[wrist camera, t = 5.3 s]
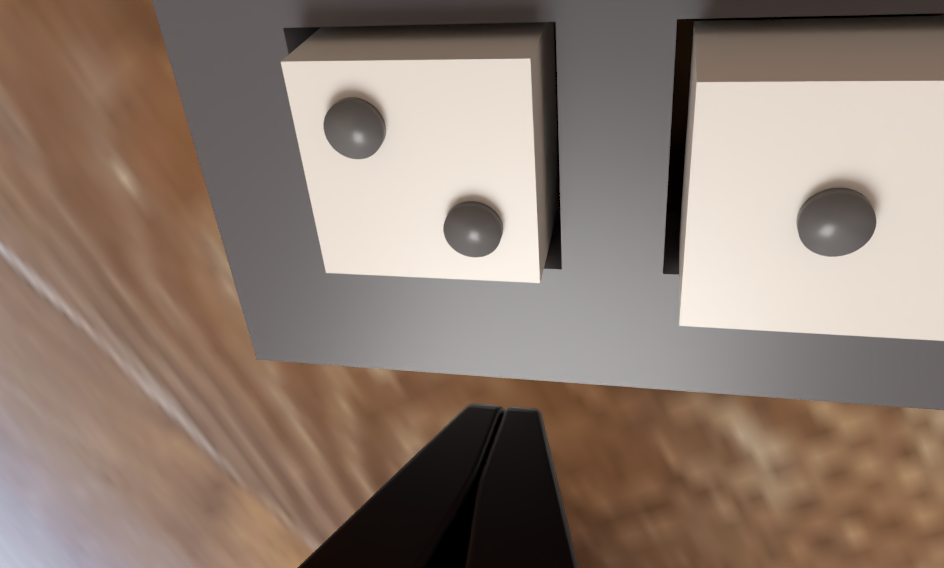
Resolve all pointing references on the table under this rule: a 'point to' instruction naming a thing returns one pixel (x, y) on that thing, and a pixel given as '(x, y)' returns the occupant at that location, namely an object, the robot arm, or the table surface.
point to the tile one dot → (815, 177)
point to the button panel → (575, 231)
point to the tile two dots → (429, 147)
